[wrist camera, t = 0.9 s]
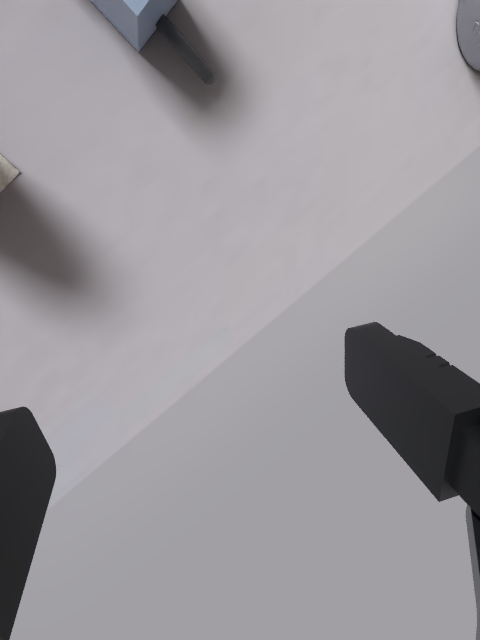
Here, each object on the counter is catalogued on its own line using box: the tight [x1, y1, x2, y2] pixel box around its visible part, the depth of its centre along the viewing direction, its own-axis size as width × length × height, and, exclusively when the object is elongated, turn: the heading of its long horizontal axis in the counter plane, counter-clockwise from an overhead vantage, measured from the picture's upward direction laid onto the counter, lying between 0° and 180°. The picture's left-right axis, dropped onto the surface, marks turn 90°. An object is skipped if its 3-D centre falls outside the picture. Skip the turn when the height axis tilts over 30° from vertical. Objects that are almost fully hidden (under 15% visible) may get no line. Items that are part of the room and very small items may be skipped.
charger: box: [91, 0, 215, 85], centre depth 21 cm, size 4×10×7 cm, turn 46°
